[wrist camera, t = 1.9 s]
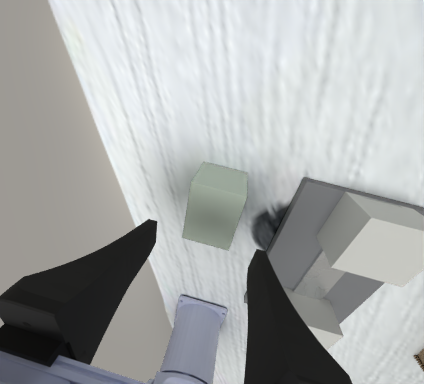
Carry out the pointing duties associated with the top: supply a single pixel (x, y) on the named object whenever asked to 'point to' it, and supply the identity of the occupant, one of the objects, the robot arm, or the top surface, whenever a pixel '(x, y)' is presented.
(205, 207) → the block
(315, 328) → the mounted modules
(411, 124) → the top surface
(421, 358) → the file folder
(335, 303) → the rail board
